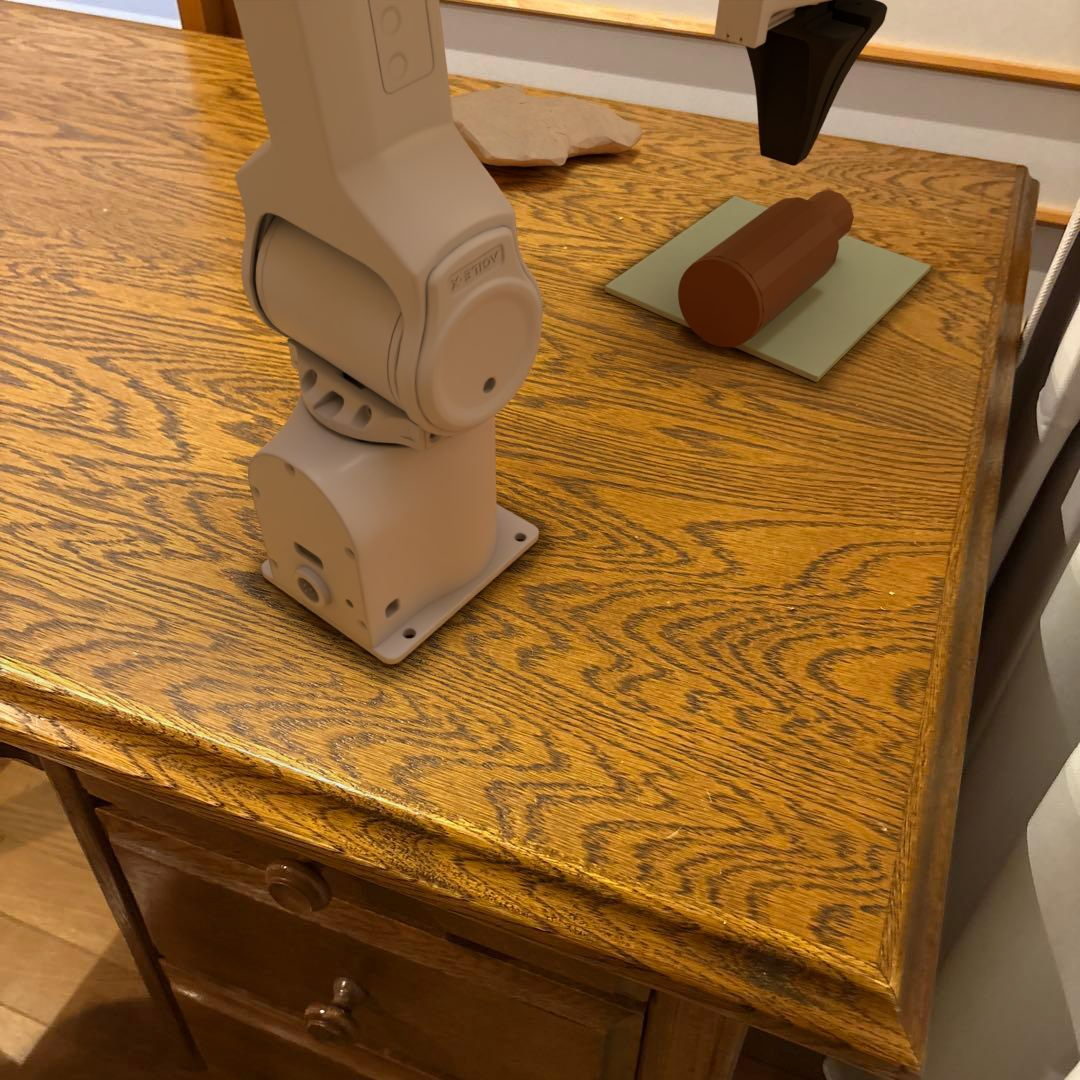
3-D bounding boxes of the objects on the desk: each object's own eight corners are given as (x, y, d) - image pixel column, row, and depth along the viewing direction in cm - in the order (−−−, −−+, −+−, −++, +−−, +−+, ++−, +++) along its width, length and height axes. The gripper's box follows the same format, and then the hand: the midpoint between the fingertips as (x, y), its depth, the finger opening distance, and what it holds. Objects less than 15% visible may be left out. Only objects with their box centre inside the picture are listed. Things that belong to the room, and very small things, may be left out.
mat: (816, 383, 53) (818, 376, 52) (604, 291, 59) (604, 285, 58) (929, 271, 61) (931, 265, 61) (733, 201, 67) (734, 195, 67)
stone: (669, 113, 67) (457, 130, 62) (664, 168, 69) (458, 189, 65) (584, 70, 78) (398, 82, 73) (582, 119, 80) (401, 134, 75)
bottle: (767, 279, 50) (879, 188, 57) (683, 246, 52) (801, 162, 59) (750, 361, 53) (857, 266, 60) (672, 327, 55) (784, 239, 63)
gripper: (839, -203, 46) (782, 93, 56) (670, -154, 38) (638, 181, 48) (985, -181, 43) (898, 127, 53) (835, -123, 35) (765, 228, 45)
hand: (783, 156), depth 50 cm, fingers closed
